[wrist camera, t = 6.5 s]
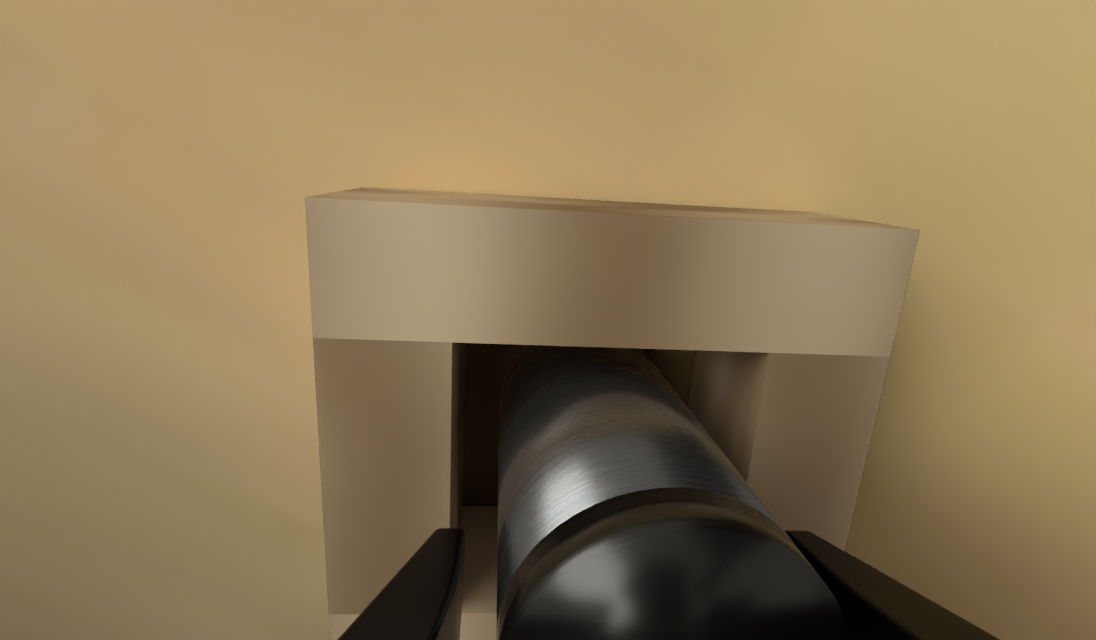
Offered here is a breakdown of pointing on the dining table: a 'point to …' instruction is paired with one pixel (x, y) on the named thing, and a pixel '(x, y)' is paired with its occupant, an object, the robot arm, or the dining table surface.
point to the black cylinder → (634, 515)
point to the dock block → (584, 321)
